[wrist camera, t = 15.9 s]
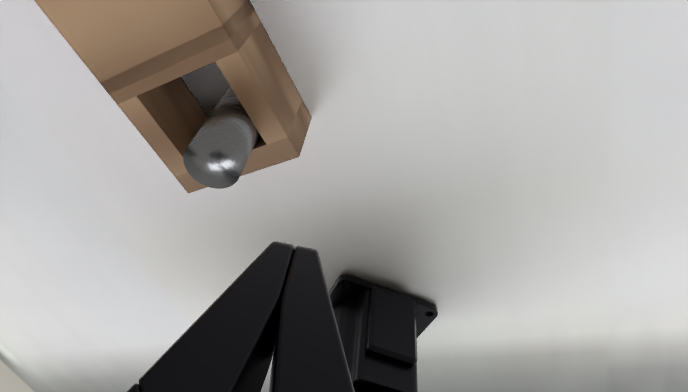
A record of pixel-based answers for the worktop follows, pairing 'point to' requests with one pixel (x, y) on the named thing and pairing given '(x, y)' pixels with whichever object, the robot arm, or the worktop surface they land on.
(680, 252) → the worktop surface
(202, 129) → the cylinder
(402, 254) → the worktop surface
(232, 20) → the link
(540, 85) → the worktop surface
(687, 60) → the worktop surface
